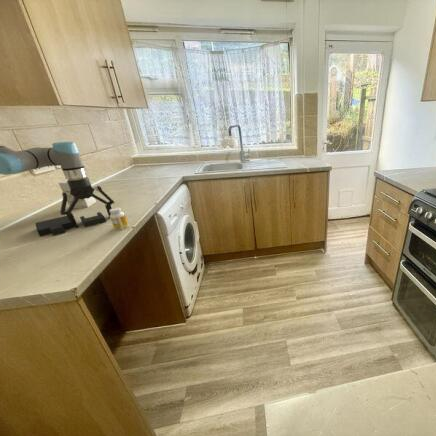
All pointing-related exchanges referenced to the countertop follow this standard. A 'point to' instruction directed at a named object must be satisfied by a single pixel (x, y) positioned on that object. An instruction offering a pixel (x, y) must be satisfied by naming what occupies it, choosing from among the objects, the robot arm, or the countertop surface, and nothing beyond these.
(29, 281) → the countertop surface
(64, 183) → the rectangular carton
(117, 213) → the supplement bottle
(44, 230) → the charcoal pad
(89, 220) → the black pad
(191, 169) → the countertop surface
